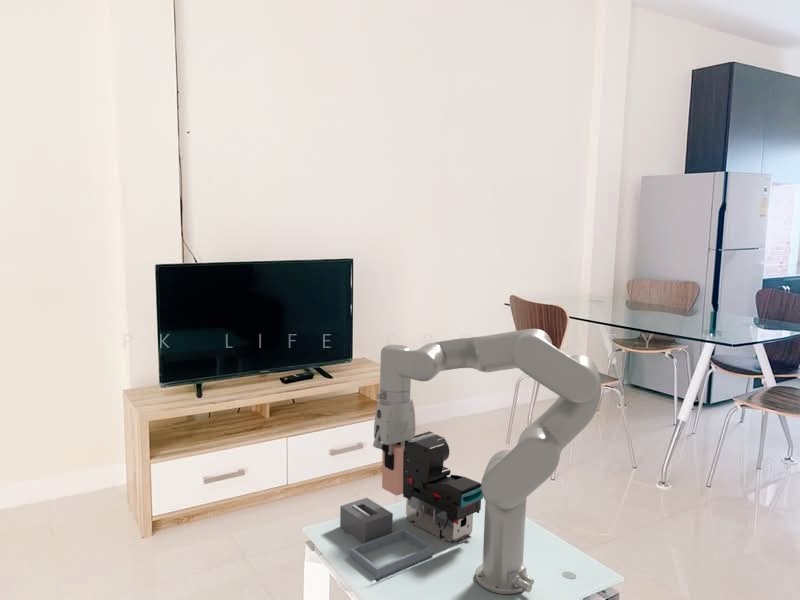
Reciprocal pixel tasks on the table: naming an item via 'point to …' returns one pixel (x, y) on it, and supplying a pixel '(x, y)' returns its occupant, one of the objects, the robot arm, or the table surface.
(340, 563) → the table surface
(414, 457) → the bill acceptor
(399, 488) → the salmon pink rectangular block
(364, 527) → the dispenser
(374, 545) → the tray
